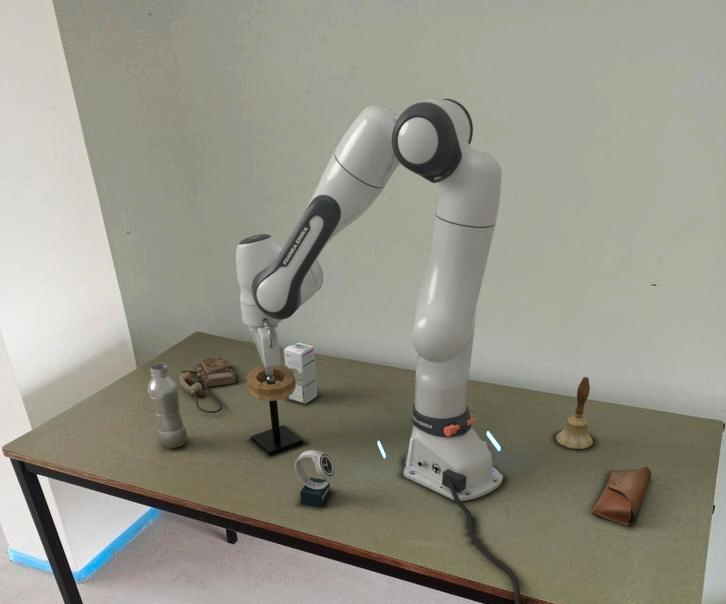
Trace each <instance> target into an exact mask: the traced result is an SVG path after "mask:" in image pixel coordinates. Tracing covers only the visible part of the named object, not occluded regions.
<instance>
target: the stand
mask: <svg viewBox="0 0 726 604" xmlns="http://www.w3.org/2000/svg"><path fill="white" fill-rule="evenodd" d="M265 382H266V384H268V385H272V384H276V382H277V380H276V378H275V377H274V376H273V375H269V376H267V378H266V381H265ZM268 405H269V413H270V423H271V429H268V430H265V431H262V432H258V433H256V434H253V435H250V441H251V442H252V443H254V444H255V445H256V446H257V447H258V448H260V450H262V451H263V452H264V453H265V454H267V455H268V456H269V457H271V456H275V455H277V454H280V453H282V452H286V451H287V450H291V449H294V448H296V447H299V446H301V445H304V440H303V438H301V437H300V436H299V435H297V434H296V433H295V432H293V431H292V430H291V429H290V428H289V427H287V426H286V425H284V424H282V425H280V417H279V408H278V407H279V406H278V400H275V401H268Z"/></svg>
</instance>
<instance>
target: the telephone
mask: <svg viewBox="0 0 726 604" xmlns="http://www.w3.org/2000/svg"><path fill="white" fill-rule="evenodd" d="M195 366H196V369H187V368H186V369H184V370H180V373H181V374H180V375H179V378H178V380H179V383H180V386H181V387H182V388H183V389H184V390H185V391H186V392H187V393H190V395H192V396H193V397H194V398H195V404H196V405H195V406H196V407H197V409H198V410H200V411H201V412H203V413H207V414H216V413H219V412H221V411H222V410H223V404H222V402H221V401H220V400H219V399H218V397H217V396H216V395H215V394H214V393H213V391H211V389H210V388H209V387H216V386H217V387H218V386H224V385H231V384H232V385H233V384H236V383H237V377H236V372H235V371H234V369H233V368H231V366H230V364H229V361H228V360H223V358H211V357H210V358H206V359H204V360H203V359H202V360H201V361H200V363H197V364H196V365H195ZM191 375H196V376H197V378H198V379H199V380H200V381H201V383H200V382H199V381H198V382H195V383H193V384H192V376H191ZM205 390H207V391H208V393H209V394H210V395H211V396H212V397H213V398H214V400H215V401H216V402H217V403H218V404H219V406H220V407H219V409H217V410H206V409H204V408H202V407H201V406H200V404H199V400H198V397H201V396H203V395H204V392H205Z"/></svg>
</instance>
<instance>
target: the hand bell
mask: <svg viewBox="0 0 726 604" xmlns="http://www.w3.org/2000/svg"><path fill="white" fill-rule="evenodd" d="M590 390H591V385H590V378H589V377H587V376H584V377H582V379H581V381H580V383H579V384H578V387H577V391H576V399H577V401H576V402H577V404H576V408H575V412H574V415H572V416H570V417H568V418H567V421H566V424H565V427H564V428H563V430H562V431H559V432H558V433H557V435H556V437H555V440H556V442H557V443H558V444H559V445H560V446H563V447H565V448H567V449H572V450H584V449H588V448H590V447H591V446H592V445H593V444H594V441H593V438H592V436H591V435H590V434H589V429H588V423H589V422H588V420H587V418H585V417H584V416H583V415H584V409H585V405H586V404H585V403H586V402H587V400H588V398H589V395H590Z"/></svg>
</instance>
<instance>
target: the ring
mask: <svg viewBox="0 0 726 604" xmlns="http://www.w3.org/2000/svg"><path fill="white" fill-rule="evenodd" d="M268 376H269V375H268ZM273 376H274V377H275V378H276V382H278V383H275V384H272V385H268V384H267V383H266V384H265V383H264V382H266V378H267V375H266V374H265V369H264V366H262V365H259V366H257V367H256V368H254V369H252V370H250V372H249V373H248V375H247V376H246V382H247V389H248V392H249V395H250V396H252V397H253V398H255V399H257V400H259V401H266V402H269V401H275V400H277V401H280V400H284V399H286V398H287V397H288V396H290V395H291V394H292V393H293V392H294V390H295V388H296V383H295V375H294V373H293V371H292V370H291V369H289V368H287V367H285V365H283V364H281V365H280V367H277V368H273Z"/></svg>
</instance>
